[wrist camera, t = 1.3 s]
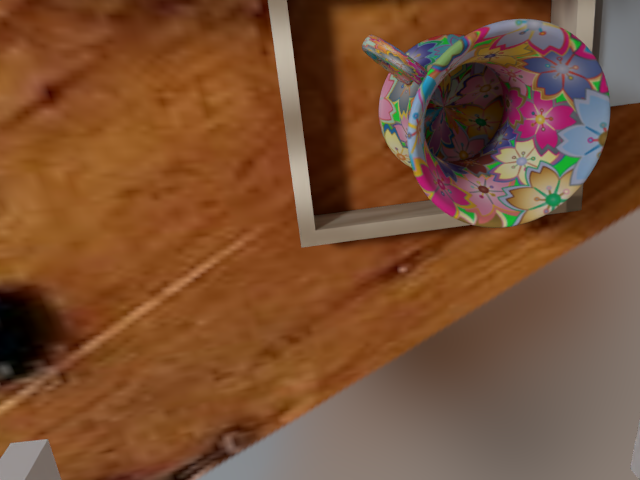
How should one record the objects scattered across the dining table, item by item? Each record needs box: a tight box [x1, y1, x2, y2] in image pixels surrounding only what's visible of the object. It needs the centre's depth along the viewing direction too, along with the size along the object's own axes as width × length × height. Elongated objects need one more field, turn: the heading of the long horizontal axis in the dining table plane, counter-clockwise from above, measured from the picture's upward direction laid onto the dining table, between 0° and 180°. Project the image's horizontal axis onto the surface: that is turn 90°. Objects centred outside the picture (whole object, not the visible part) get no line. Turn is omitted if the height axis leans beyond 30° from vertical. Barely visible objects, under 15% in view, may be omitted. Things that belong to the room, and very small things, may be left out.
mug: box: [362, 19, 610, 228], centre depth 28 cm, size 12×9×11 cm
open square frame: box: [268, 0, 596, 247], centre depth 27 cm, size 20×18×11 cm
